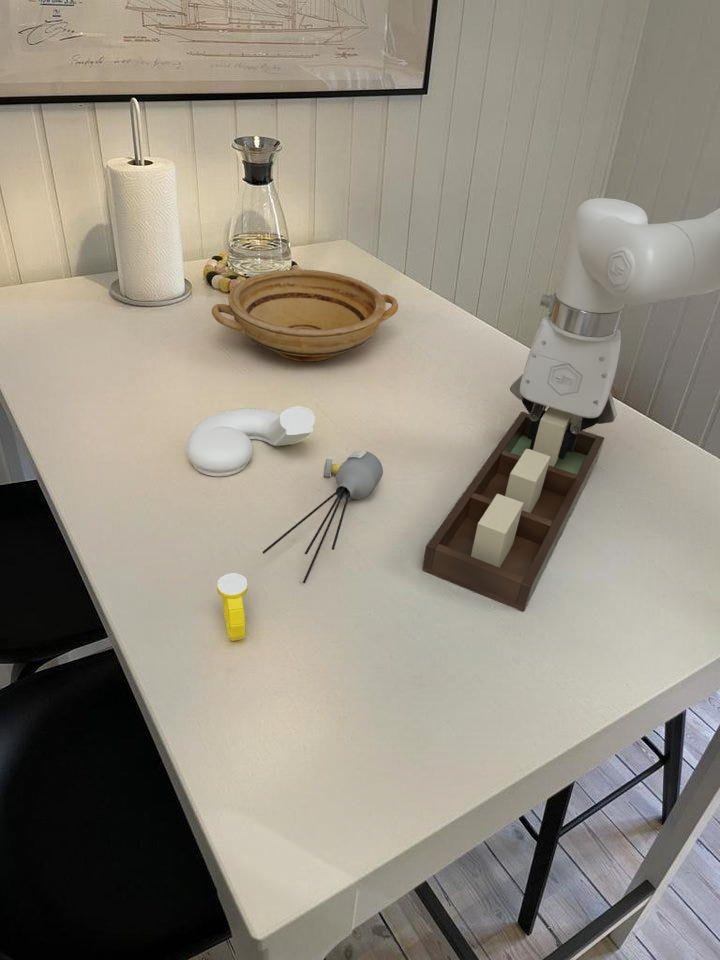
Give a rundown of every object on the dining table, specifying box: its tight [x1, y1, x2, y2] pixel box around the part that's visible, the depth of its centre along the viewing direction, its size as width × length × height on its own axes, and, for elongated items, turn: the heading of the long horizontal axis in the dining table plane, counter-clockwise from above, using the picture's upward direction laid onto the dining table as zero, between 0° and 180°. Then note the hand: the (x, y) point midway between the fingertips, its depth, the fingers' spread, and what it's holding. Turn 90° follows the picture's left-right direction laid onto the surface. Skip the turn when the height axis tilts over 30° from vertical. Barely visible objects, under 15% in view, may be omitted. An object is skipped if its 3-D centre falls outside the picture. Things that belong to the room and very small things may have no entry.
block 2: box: [505, 449, 550, 513], centre depth 88 cm, size 3×6×6 cm, turn 152°
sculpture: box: [186, 405, 316, 477], centre depth 93 cm, size 12×15×8 cm
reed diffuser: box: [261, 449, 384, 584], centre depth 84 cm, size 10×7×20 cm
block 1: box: [471, 494, 523, 567], centre depth 80 cm, size 3×6×6 cm, turn 152°
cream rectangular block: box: [533, 407, 572, 467], centre depth 94 cm, size 3×6×6 cm, turn 152°
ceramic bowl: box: [211, 269, 399, 362], centre depth 118 cm, size 30×24×8 cm
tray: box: [422, 411, 606, 612], centre depth 89 cm, size 11×32×4 cm, turn 152°
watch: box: [216, 572, 249, 642], centre depth 70 cm, size 6×3×6 cm, turn 16°
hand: (549, 448), depth 96 cm, fingers closed on cream rectangular block, 3 cm apart
